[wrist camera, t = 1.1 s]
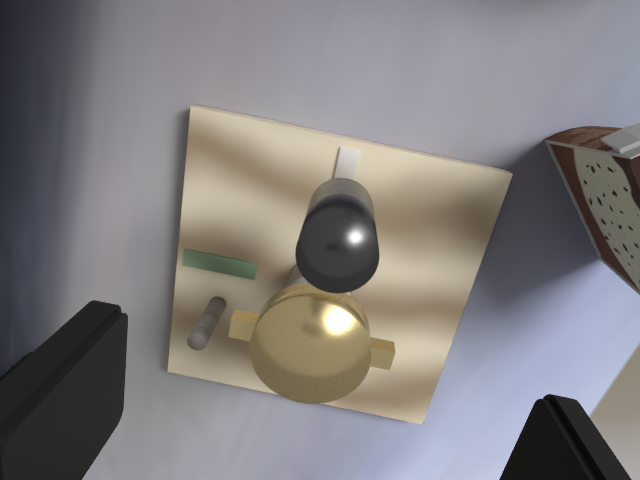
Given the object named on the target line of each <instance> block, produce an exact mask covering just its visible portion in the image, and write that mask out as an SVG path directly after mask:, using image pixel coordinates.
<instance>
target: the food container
mask: <svg viewBox="0 0 640 480" xmlns="http://www.w3.org/2000/svg"><path fill="white" fill-rule="evenodd" d="M544 141H545V143H546V145H547V147H548V149H549V151H550V154H551V156H552V158H553V160H554V162H555V164H556V167H557V169H558V171H559V173H560V175H561V177H562V179H563V182H564V184H565V186H566V188H567V190H568V192H569V194H570V197H571V199H572V201H573V203H574V205H575V207H576V210H577V212H578V214H579V216H580V218H581V220H582V222H583V225H584V227H585V229H586V231H587V233H588V235H589V238H590V240H591V242H592V244H593V246H594V248H595V250H596V253H597V255H598V257H599V259H600V260H601V261H602V262H603V263H604V264H606V265H607V266H608V267H609V268H610V269H611V270H612V271H613V272H615V273H616V274H617V275H618V276H619V277H620V278H621V279H622V280H623V281H625V282H626V283H627V284H628V285H629V286H630V287H631V288H632V289H634V290H635V291H636V292H637V293H638V294H639V295H640V123H639V124H636V125H633V126H630V127H626V128H614V127H600V126H587V127H578V128H573V129H569V130H565V131H562V132H559V133H556V134H554V135H552V136H550V137H548V138H546V139H544Z"/></svg>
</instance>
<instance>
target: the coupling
mask: <svg viewBox="0 0 640 480" xmlns="http://www.w3.org/2000/svg"><path fill="white" fill-rule="evenodd" d="M379 256H380V254H379V245H378V238H377V231H376V224H375V216H374V209H373V203H372V199H371V196H370V194H369V193H368V191H367V190H366V189H365V188H364V187H363V186H362V185H361V184H360V183H358V182H356V181H354V180H352V179H348V178H334V179H330V180H328V181H326V182H324V183H322V184H321V185H320V186H319V187H318V188H317V189H316V190H315V191H314V193H313V195H312V197H311V200H310V203H309V206H308V210H307V213H306V216H305V219H304V222H303V226H302V229H301V232H300V235H299V238H298V242H297V245H296V251H295V258H296V263H297V266H298V269H299V271H300V273H301V274H302V276H303V277H304V278H305V280H306V281H308V282H307V283H299V284H294V285H291V286H288V287H286V288H284V289H282V290H280V291H278V292H277V293H275V294H274V295H273V296H272V297H271V298H270V299H269V300H268V301H267V302H266V303H265V305H264V306H263V308H262V310H261V312H260V314H257V313H253V312H248V311H243V310H238V309H235V311H234V313H233V315H232V318H231V323H230V330H229V337H231V338H236V339H240V340H245V341H250V346H249V352H250V359H251V363H252V366H253V368H254V370H255V372H256V374H257V375H258V377H259V378H260V380H261V381H262V382H263V383H264V384H265V385H266V386H267V387H268V388H270V389H271V390H272V391H274V392H275V393H277V394H278V395H280V396H282V397H284V398H287V399H289V400H292V401H296V402H300V403H307V404H320V403H327V402H331V401H335V400H338V399H340V398H343V397H344V396H346V395H348V394H350V393H351V392H352V391H354V390H355V389H356V388H357V387H358V386H359V385H360V384H361V383H362V381H363V380H364V379H365V377H366V375H367V373H368V371H369V368H370V366H371V367H376V368H380V369H385V370H390V369H391V366H392V362H393V359H394V356H395V353H396V352H395V345H394V342H392V341H387V340H383V339H378V338H373V337H370V326H369V322H368V319H367V316H366V314H365V312H364V311H363V309H362V307H361V306H360V305H359V304H358V302H357V301H356V300H355V299H354V298H352V297H351V296H350V295H349V294H347V292H351V291H354V290H356V289H359V288H360V287H362V286H364V285H365V284H366V283H367V282H368V281H369V280H370V279H371V278H372V277H373V275H374V274H375V272H376V270H377V267H378V264H379Z"/></svg>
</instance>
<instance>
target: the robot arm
mask: <svg viewBox="0 0 640 480" xmlns="http://www.w3.org/2000/svg"><path fill="white" fill-rule="evenodd" d="M127 328H128V316H127V314H126V313H121V308H120V306H119V305H115V304H110V303H105V302H100V301H95V300H94V301H91V302H89V303H88V304H87V305H86V306H85V307H84V308H82V309H81V310H80V311H79V312H78V313H77V314H76V315H75V316H73V317H72V318H71V319H70V320H69V321H68V322H67V323H66V324H64V325H63V326H62V327H61V328H60V329H59V330H58V331H57V332H55V333H54V334H53V335H52V336H51V337H50V338H49V339H48V340H47V341H45V342H44V343H43V344H42V345H41V346H40V347H39V348H38V349H36V350H35V351H34V352H30V353H29V354H27V355H26V356H24V357H23V358H22V359H21V360H20V361H19V362H17V363H16V364H15V365H14V366H13V367H12V368H11V369H9V370H8V371H7V372H6V373H5V374H4V375H3V376H2V377H0V480H82V478H83V477H84V475H85V474H86V472H87V471H88V469H89V468H90V466H91V465H92V463H93V462H94V460H95V459H96V457H97V456H98V454H99V453H100V451H101V449H102V448H103V446H104V445H105V443H106V442H107V440H108V439H109V437H110V436H111V434H112V433H113V431H114V430H115V428H116V427H117V425H118V423H119V421H120V419H121V416H122V412H123V407H124V387H125V367H126V348H127ZM499 480H631V478H630V477H629V475H628V474H627V472H626V471H625V469H624V468H623V466H622V465H621V463H620V462H619V460H618V459H617V458H616V456H615V455H614V453H613V452H612V450H611V449H610V447H609V446H608V444H607V443H606V441H605V440H604V439H603V437H602V436H601V434H600V433H599V431H598V430H597V428H596V427H595V425H594V424H593V422H592V421H591V419H590V418H589V417H588V415H587V414H586V412H585V411H584V409H583V408H582V406H581V405H580V403H579V402H578V401H577V400H574V399H571V398H566V397H561V396H556V395H551V394H548V395H546V396H545V397H544V398H543V399H538V400H537V401H536V402H535V404H534V406H533V408H532V410H531V412H530V414H529V416H528V419H527V421H526V423H525V425H524V427H523V430H522V432H521V434H520V436H519V438H518V440H517V443H516V445H515V447H514V449H513V451H512V453H511V456H510V458H509V460H508V462H507V464H506V466H505V469H504V471H503V473H502V475H501V477H500V479H499Z"/></svg>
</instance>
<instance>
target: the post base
mask: <svg viewBox="0 0 640 480" xmlns="http://www.w3.org/2000/svg"><path fill="white" fill-rule="evenodd" d="M512 176H513V174H512V173H510V172H509V171H507V170H504V169H499V168H494V167H490V166H485V165H480V164H476V163H471V162H466V161H461V160H457V159H452V158H447V157H442V156H438V155H433V154H428V153H423V152H419V151H414V150H409V149H405V148H400V147H395V146H390V145H386V144H381V143H376V142H371V141H367V140H362V139H357V138H352V137H348V136H343V135H338V134H334V133H329V132H324V131H319V130H315V129H310V128H305V127H300V126H296V125H291V124H286V123H281V122H277V121H272V120H267V119H263V118H258V117H253V116H248V115H244V114H239V113H234V112H229V111H225V110H220V109H215V108H210V107H206V106H201V105H194V106H191V107H190V119H189V130H188V141H187V153H186V164H185V176H184V187H183V199H182V210H181V222H180V233H179V244H178V256H177V267H176V279H175V290H174V302H173V313H172V324H171V336H170V347H169V359H168V370H167V372H171V373H175V374H180V375H185V376H190V377H195V378H200V379H205V380H209V381H214V382H219V383H224V384H229V385H234V386H238V387H243V388H248V389H253V390H258V391H263V392H268V393H272V394H277V393H275V392H274V391H272V390H271V389H270V388H268V387H267V386H266V385H265V384H264V383H263V382H262V381H261V380H260V378H259V377H258V375H257V374H256V372H255V370H254V368H253V366H252V363H251V359H250V352H249V346H250V341H245V340H240V339H236V338H231V337H229V330H230V323H231V318H232V315H233V313H234V311H235V309H238V310H243V311H248V312H253V313H257V314H260V312H261V310H262V308H263V306H264V305H265V303H266V302H267V301H268V300H269V299H270V298H271V297H272V296H273V295H274V294H275V293H277V292H278V291H280V290H282V289H284V288H286V287H288V286H291V285H294V284H299V283H307V282H308V281H306V280H305V278H304V277H303V276H302V274H301V273H300V271H299V269H298V266H297V263H296V258H295V251H296V245H297V242H298V238H299V235H300V232H301V229H302V226H303V222H304V219H305V216H306V213H307V210H308V206H309V203H310V200H311V197H312V195H313V193H314V191H315V190H316V189H317V188H318V187H319V186H320V185H321V184H322V183H324V182H326V181H328V180H330V179H334V178H348V179H352V180H354V181H356V182H358V183H360V184H361V185H362V186H363V187H364V188H365V189H366V190H367V191H368V193H369V194H370V196H371V199H372V203H373V209H374V216H375V224H376V231H377V238H378V245H379V254H380V256H379V264H378V267H377V270H376V272H375V274H374V275H373V277H372V278H371V279H370V280H369V281H368V282H367V283H366V284H365V285H364V286H362V287H360V288H359V289H356V290H354V291H351V292H347V294H349V295H350V296H351V297H352V298H354V299H355V300H356V301H357V302H358V304H359V305H360V306H361V307H362V309H363V311H364V312H365V314H366V316H367V319H368V322H369V326H370V337H373V338H378V339H383V340H387V341H392V342H394V345H395V352H396V353H395V356H394V359H393V362H392V366H391V369H390V370H385V369H380V368H376V367H371V366H370V368H369V371H368V373H367V375H366V377H365V379H364V380H363V381H362V383H361V384H360V385H359V386H358V387H357V388H356V389H355V390H354V391H352V392H351V393H350V394H348V395H346V396H344V397H343V398H340V399H338V400H335V401H331V402H327V403H321V404H326V405H331V406H335V407H340V408H345V409H350V410H355V411H360V412H364V413H369V414H374V415H379V416H384V417H389V418H394V419H398V420H403V421H408V422H413V423H418V424H423V421H424V418H425V416H426V413H427V410H428V407H429V405H430V402H431V399H432V396H433V393H434V391H435V388H436V385H437V382H438V380H439V377H440V374H441V371H442V369H443V366H444V363H445V360H446V358H447V355H448V352H449V349H450V347H451V344H452V341H453V338H454V336H455V333H456V330H457V327H458V325H459V322H460V319H461V316H462V314H463V311H464V308H465V305H466V303H467V300H468V297H469V294H470V292H471V289H472V286H473V283H474V280H475V278H476V275H477V272H478V269H479V267H480V264H481V261H482V258H483V256H484V253H485V250H486V247H487V245H488V242H489V239H490V236H491V234H492V231H493V228H494V225H495V223H496V220H497V217H498V214H499V212H500V209H501V206H502V203H503V201H504V198H505V195H506V192H507V190H508V187H509V184H510V181H511V178H512ZM277 395H278V394H277Z"/></svg>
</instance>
